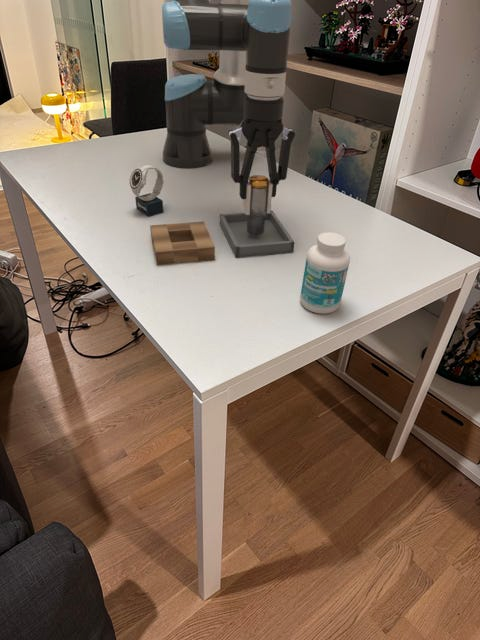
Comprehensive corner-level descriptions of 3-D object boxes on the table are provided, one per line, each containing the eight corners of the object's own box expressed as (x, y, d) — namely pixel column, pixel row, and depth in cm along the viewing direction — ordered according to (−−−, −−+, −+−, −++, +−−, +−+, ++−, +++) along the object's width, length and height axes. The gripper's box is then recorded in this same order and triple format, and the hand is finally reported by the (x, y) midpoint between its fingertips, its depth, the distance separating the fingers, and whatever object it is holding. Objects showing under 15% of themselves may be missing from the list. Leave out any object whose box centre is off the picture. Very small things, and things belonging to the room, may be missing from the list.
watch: (129, 210, 114) (124, 166, 107) (157, 203, 118) (154, 160, 111) (141, 219, 110) (136, 173, 104) (169, 210, 115) (167, 166, 108)
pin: (249, 235, 102) (252, 182, 95) (244, 227, 105) (247, 175, 98) (266, 234, 103) (270, 181, 96) (261, 225, 106) (265, 174, 99)
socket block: (151, 237, 103) (150, 225, 101) (204, 233, 106) (203, 221, 104) (156, 265, 94) (155, 252, 92) (214, 259, 97) (214, 247, 95)
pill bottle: (295, 309, 84) (304, 243, 76) (305, 288, 90) (314, 225, 81) (335, 319, 82) (349, 253, 74) (343, 297, 88) (357, 233, 79)
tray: (219, 224, 110) (219, 214, 108) (271, 220, 113) (272, 210, 111) (235, 257, 98) (235, 247, 96) (293, 252, 100) (294, 242, 99)
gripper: (224, 101, 82) (222, 221, 97) (313, 99, 86) (298, 216, 100) (215, 91, 88) (214, 207, 102) (299, 90, 92) (287, 201, 106)
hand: (256, 211), depth 101 cm, fingers closed on pin, 4 cm apart
